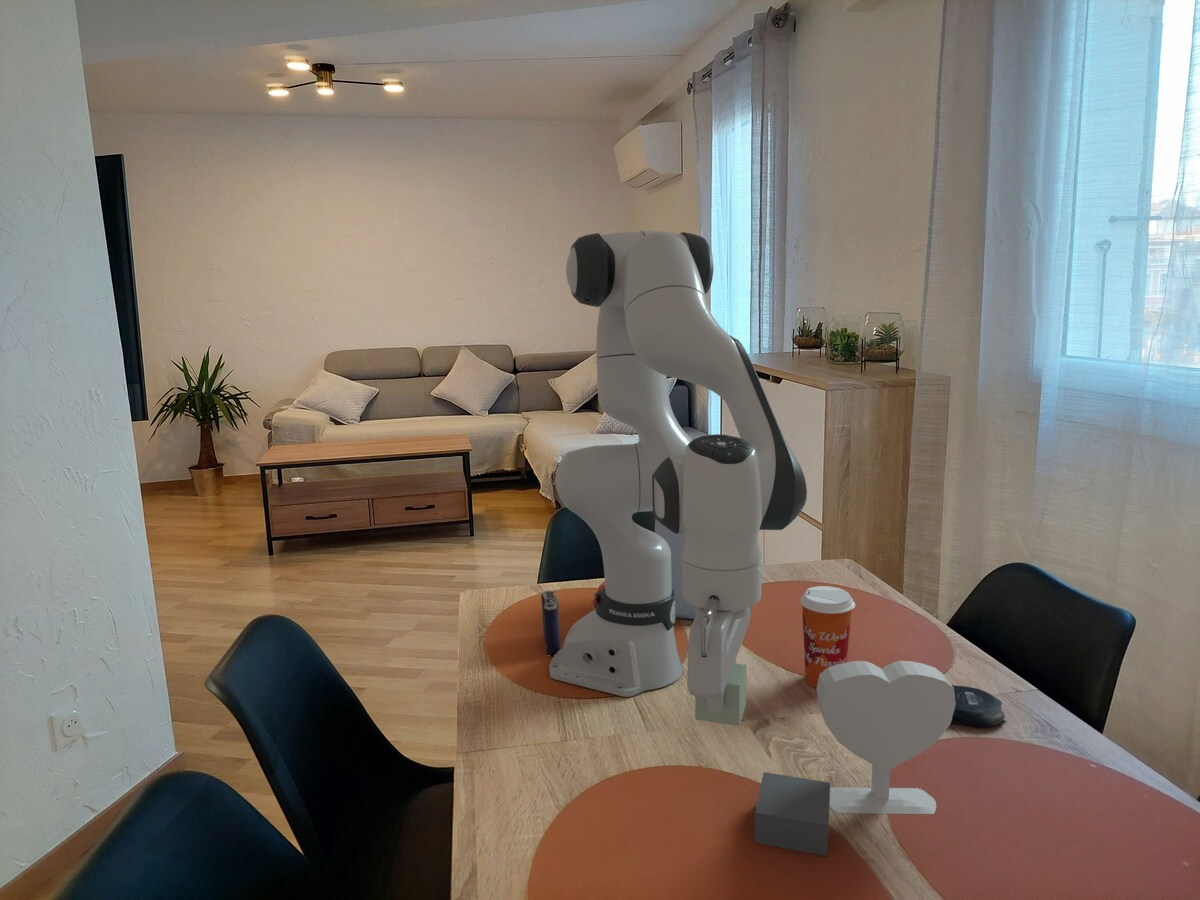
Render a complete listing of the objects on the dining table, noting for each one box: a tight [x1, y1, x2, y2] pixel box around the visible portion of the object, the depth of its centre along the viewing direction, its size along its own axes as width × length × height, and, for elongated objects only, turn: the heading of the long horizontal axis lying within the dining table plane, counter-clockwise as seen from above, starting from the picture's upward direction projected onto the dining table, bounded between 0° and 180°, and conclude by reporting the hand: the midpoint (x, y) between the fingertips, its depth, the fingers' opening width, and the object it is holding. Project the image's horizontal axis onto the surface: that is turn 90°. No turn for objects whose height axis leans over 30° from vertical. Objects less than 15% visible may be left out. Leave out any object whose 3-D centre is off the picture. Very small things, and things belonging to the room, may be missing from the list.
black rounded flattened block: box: [951, 684, 1006, 728], centre depth 118 cm, size 9×6×15 cm
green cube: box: [694, 663, 747, 727], centre depth 91 cm, size 5×5×5 cm
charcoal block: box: [754, 771, 831, 857], centre depth 94 cm, size 8×8×4 cm
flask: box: [540, 589, 562, 656], centre depth 143 cm, size 9×3×11 cm, turn 8°
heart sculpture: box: [815, 660, 956, 815], centre depth 97 cm, size 16×5×18 cm, turn 87°
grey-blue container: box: [654, 519, 697, 620], centre depth 157 cm, size 15×15×28 cm
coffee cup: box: [800, 585, 856, 689], centre depth 126 cm, size 8×8×15 cm
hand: (721, 694), depth 91 cm, fingers closed on green cube, 5 cm apart
